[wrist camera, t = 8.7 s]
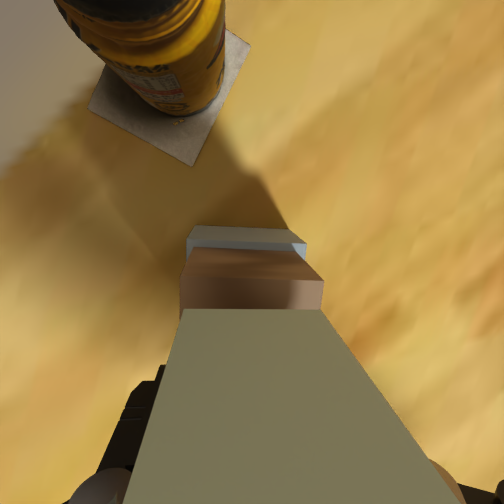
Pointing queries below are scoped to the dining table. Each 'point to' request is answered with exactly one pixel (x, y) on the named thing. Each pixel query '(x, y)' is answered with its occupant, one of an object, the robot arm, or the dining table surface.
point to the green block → (274, 420)
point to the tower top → (248, 280)
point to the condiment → (159, 66)
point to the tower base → (244, 239)
